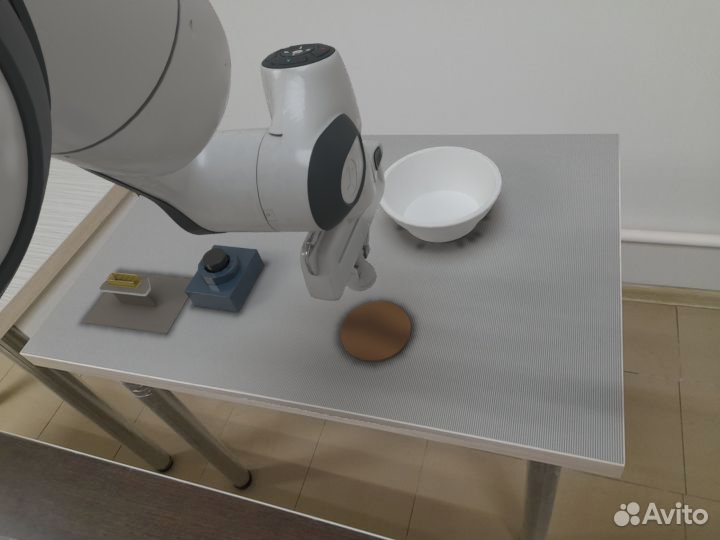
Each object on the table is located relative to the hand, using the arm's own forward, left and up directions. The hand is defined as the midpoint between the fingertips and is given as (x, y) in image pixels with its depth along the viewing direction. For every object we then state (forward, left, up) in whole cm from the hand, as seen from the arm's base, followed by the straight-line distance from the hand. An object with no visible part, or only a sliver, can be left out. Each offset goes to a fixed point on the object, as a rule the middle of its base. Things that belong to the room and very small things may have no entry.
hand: (358, 266), depth 69 cm
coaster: (0, 0, -15) cm, 15 cm away
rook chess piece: (0, 0, -3) cm, 3 cm away
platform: (-1, +45, -16) cm, 48 cm away
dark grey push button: (+5, +29, -10) cm, 31 cm away
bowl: (+26, -5, -16) cm, 31 cm away
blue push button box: (+5, +29, -15) cm, 33 cm away
